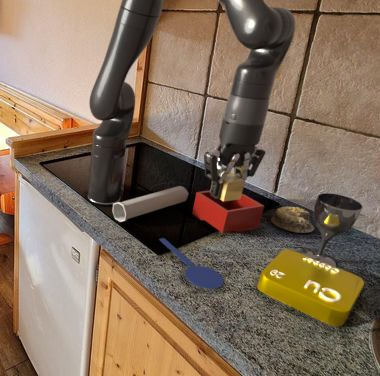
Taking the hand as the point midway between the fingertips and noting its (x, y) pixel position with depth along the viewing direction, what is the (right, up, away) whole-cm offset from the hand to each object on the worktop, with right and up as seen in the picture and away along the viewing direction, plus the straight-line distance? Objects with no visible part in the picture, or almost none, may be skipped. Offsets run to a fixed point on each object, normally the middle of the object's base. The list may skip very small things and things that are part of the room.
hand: (224, 195), depth 87 cm
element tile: (+14, -20, -6) cm, 25 cm away
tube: (-9, -5, +25) cm, 27 cm away
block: (0, 0, 0) cm, 0 cm away
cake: (+26, -8, +20) cm, 34 cm away
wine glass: (+23, -15, +5) cm, 28 cm away
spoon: (-7, -15, +3) cm, 17 cm away
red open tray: (+9, -7, +21) cm, 24 cm away
